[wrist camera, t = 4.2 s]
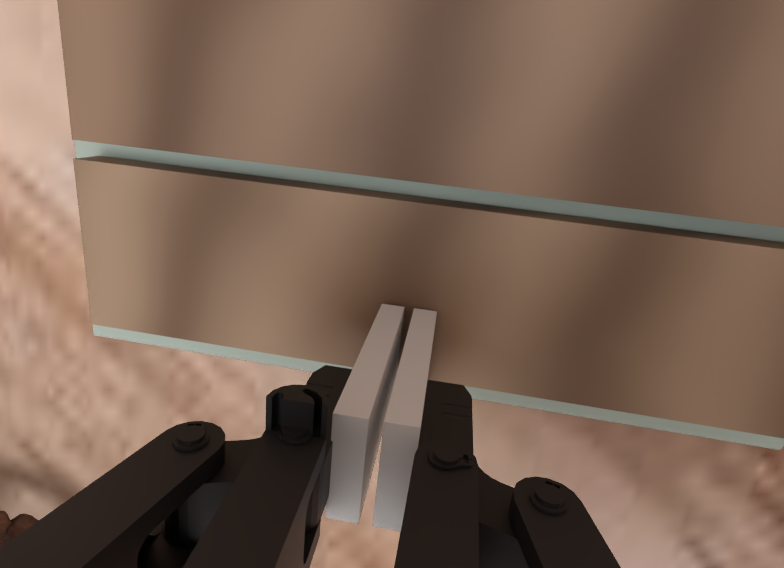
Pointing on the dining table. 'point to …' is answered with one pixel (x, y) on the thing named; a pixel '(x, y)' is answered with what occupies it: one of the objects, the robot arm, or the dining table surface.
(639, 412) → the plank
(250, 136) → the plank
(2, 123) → the dining table surface
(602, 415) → the underlay mat
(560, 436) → the dining table surface
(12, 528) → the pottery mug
